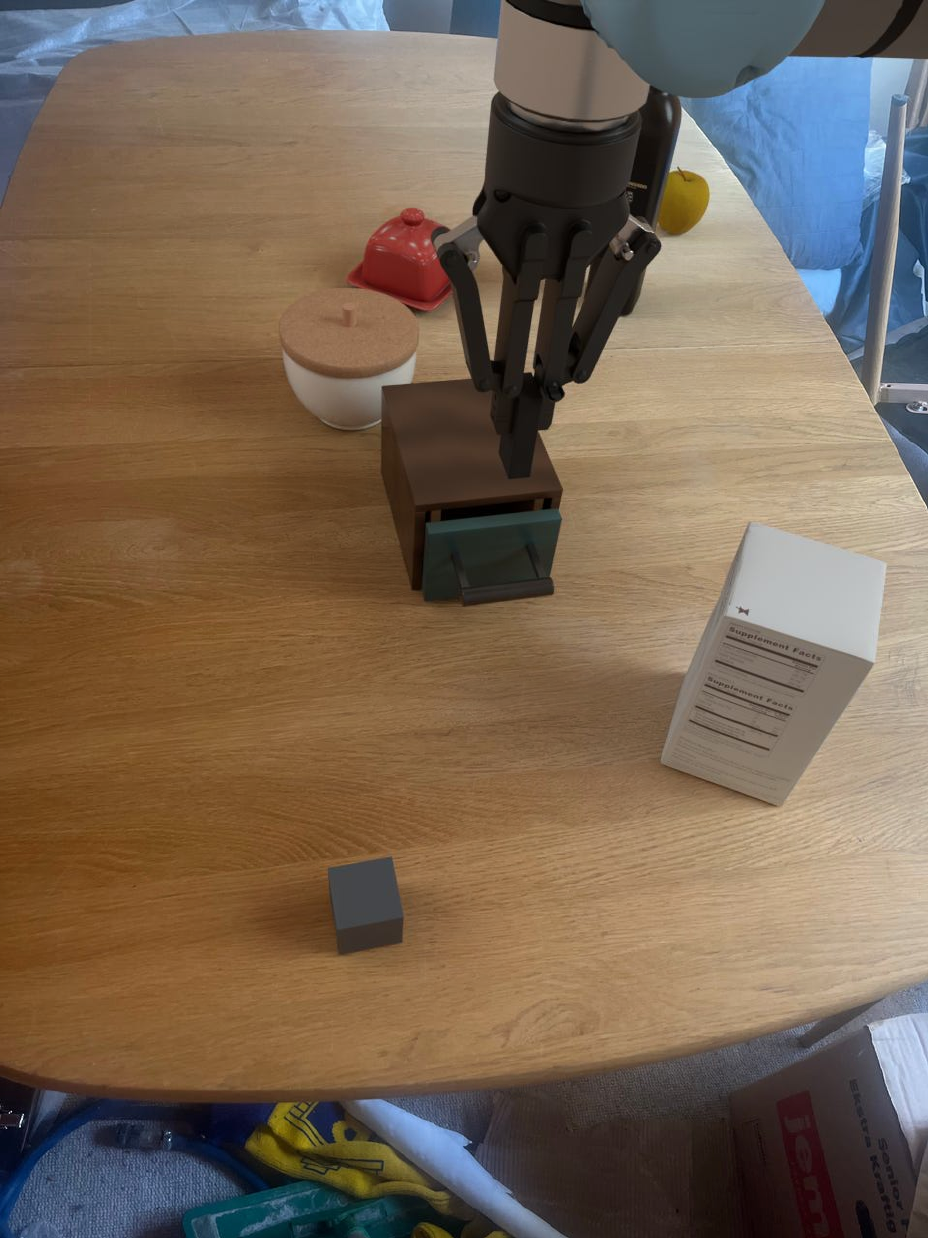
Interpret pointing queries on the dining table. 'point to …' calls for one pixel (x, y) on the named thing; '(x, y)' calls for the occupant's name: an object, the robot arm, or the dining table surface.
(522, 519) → the drawer
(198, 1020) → the dining table surface
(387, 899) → the block
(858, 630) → the supplement box
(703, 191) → the apple
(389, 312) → the lidded bowl
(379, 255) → the butter dish
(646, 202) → the wine bottle
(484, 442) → the cabinet
